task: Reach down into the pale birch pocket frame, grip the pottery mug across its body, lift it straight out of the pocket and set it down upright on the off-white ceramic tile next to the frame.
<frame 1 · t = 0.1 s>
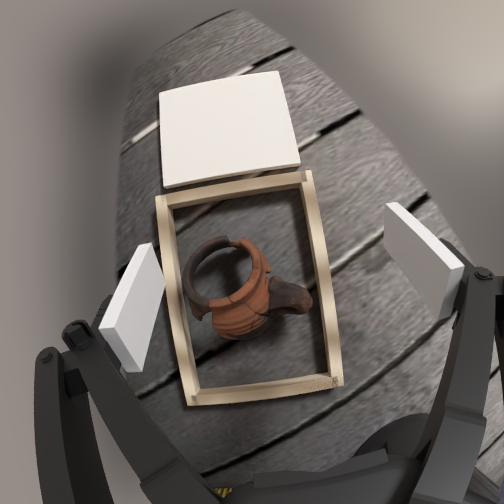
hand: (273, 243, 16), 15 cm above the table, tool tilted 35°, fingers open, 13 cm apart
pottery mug: (248, 292, 32), on the table
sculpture: (229, 501, 29), on the table
ceramic tile: (224, 125, 33), on the table
pocket frame: (249, 291, 31), on the table
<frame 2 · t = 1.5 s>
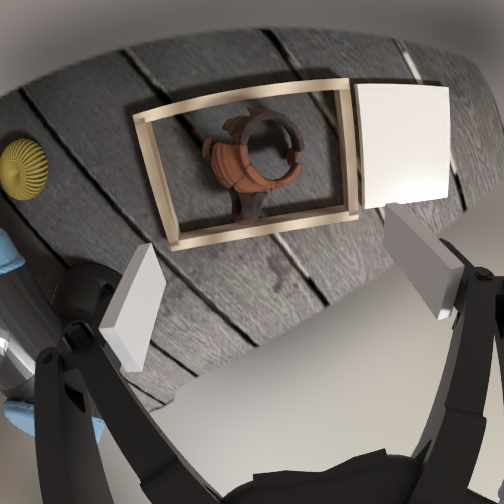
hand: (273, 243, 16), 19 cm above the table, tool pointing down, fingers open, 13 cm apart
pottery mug: (247, 158, 33), on the table
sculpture: (31, 164, 30), on the table
ceramic tile: (406, 143, 32), on the table
pocket frame: (252, 161, 32), on the table
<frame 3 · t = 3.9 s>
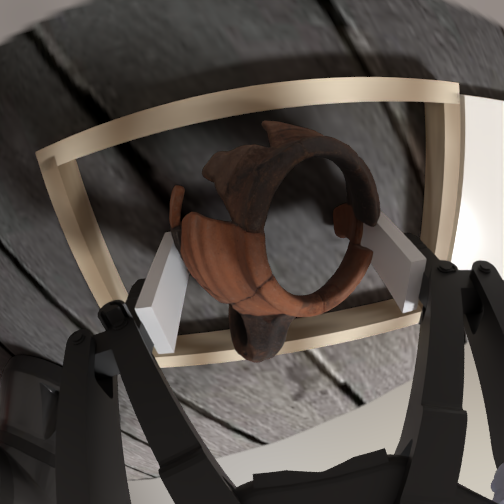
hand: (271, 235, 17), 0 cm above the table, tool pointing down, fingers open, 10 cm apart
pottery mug: (258, 220, 17), on the table, touching gripper
pocket frame: (270, 232, 17), on the table
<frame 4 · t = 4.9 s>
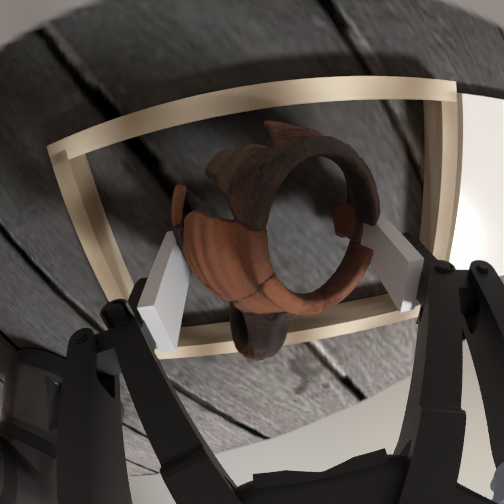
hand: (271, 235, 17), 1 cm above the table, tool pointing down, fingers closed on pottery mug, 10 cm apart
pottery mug: (259, 219, 18), on the table, touching gripper
pocket frame: (274, 225, 18), on the table
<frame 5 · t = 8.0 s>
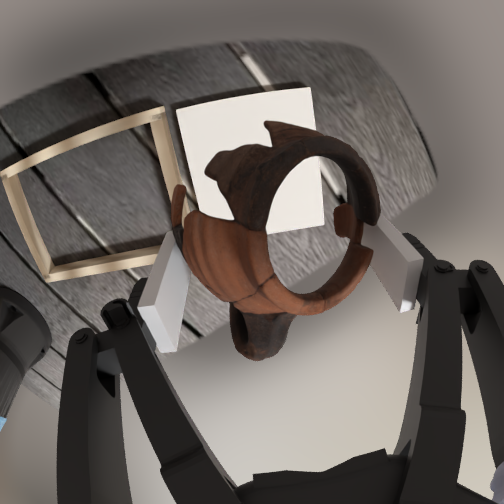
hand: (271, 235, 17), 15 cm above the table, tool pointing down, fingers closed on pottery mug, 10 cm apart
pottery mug: (259, 219, 18), point 15 cm above the table, touching gripper
ceramic tile: (255, 166, 30), on the table
pocket frame: (92, 203, 31), on the table
when the fingers open (3 cm above the table, at t = 11.2 s): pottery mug stays where it is, resting on ceramic tile.
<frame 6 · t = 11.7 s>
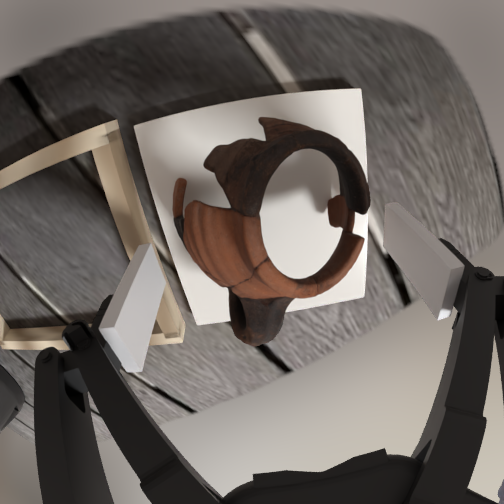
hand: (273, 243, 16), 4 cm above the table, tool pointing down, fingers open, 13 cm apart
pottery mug: (256, 211, 18), point 1 cm above the table, touching ceramic tile
ceramic tile: (266, 215, 19), on the table
pocket frame: (36, 262, 20), on the table
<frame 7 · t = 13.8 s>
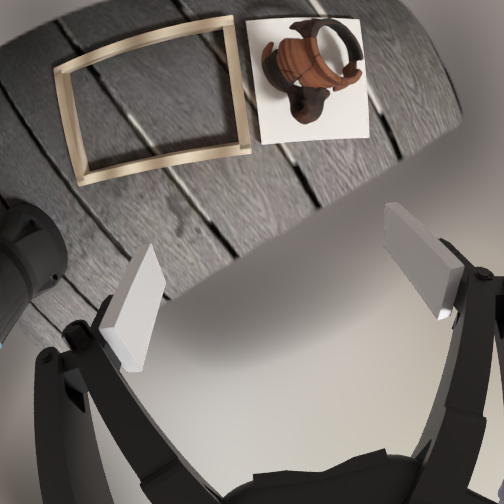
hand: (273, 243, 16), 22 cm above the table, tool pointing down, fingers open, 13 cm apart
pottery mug: (304, 70, 29), point 1 cm above the table, touching ceramic tile
ceramic tile: (310, 77, 30), on the table
pocket frame: (147, 100, 31), on the table
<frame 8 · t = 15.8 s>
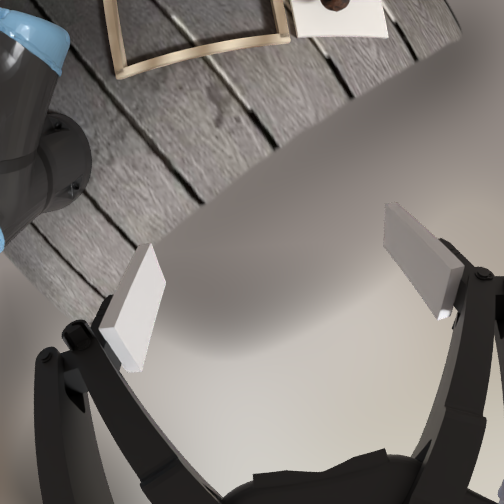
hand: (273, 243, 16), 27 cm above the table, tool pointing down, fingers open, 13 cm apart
pocket frame: (191, 3, 28), on the table
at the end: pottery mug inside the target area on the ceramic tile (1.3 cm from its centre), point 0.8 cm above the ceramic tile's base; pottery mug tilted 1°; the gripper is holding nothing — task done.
